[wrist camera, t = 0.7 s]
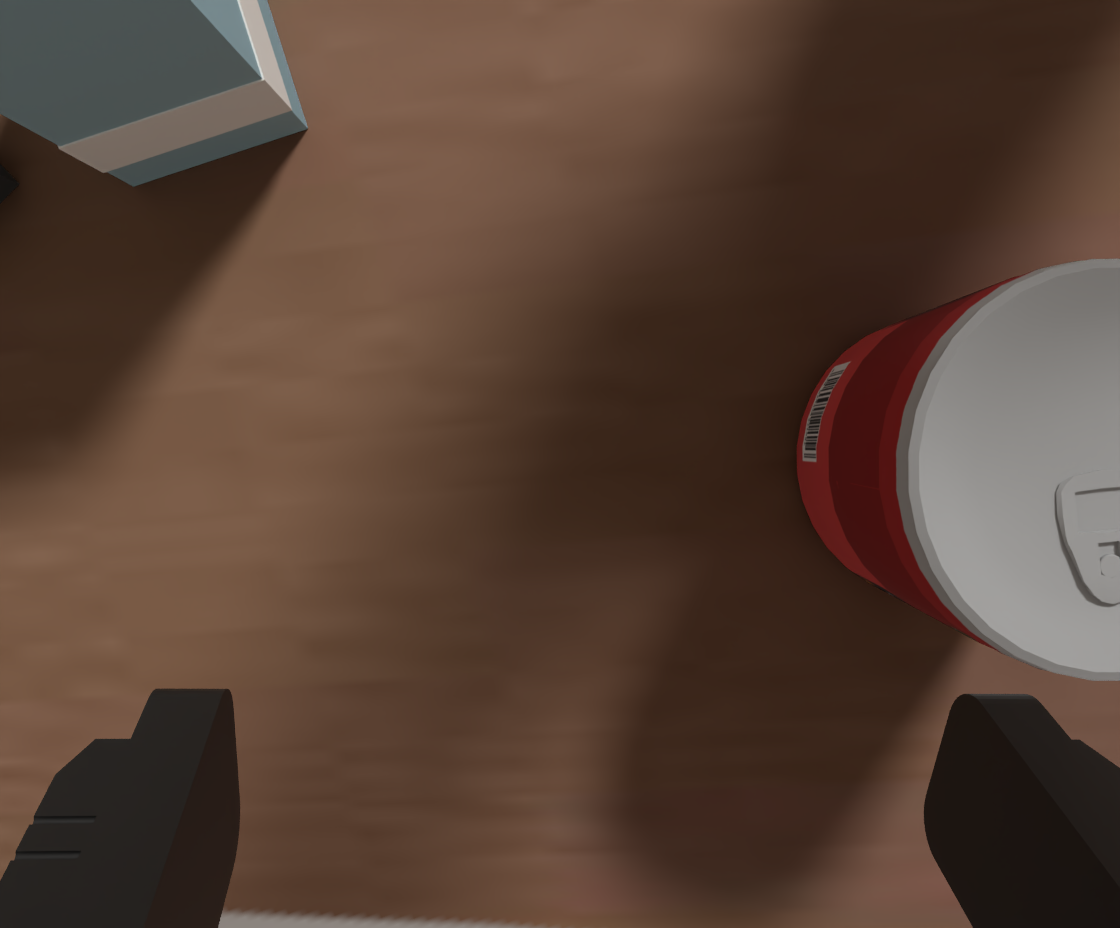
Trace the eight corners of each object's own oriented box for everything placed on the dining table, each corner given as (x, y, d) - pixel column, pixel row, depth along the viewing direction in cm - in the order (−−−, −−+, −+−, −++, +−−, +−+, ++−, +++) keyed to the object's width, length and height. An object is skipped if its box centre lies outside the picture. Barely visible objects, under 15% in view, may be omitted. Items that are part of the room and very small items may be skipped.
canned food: (847, 632, 30) (997, 746, 19) (747, 380, 30) (840, 347, 19) (1094, 537, 30) (1391, 595, 19) (994, 282, 30) (1233, 190, 19)
